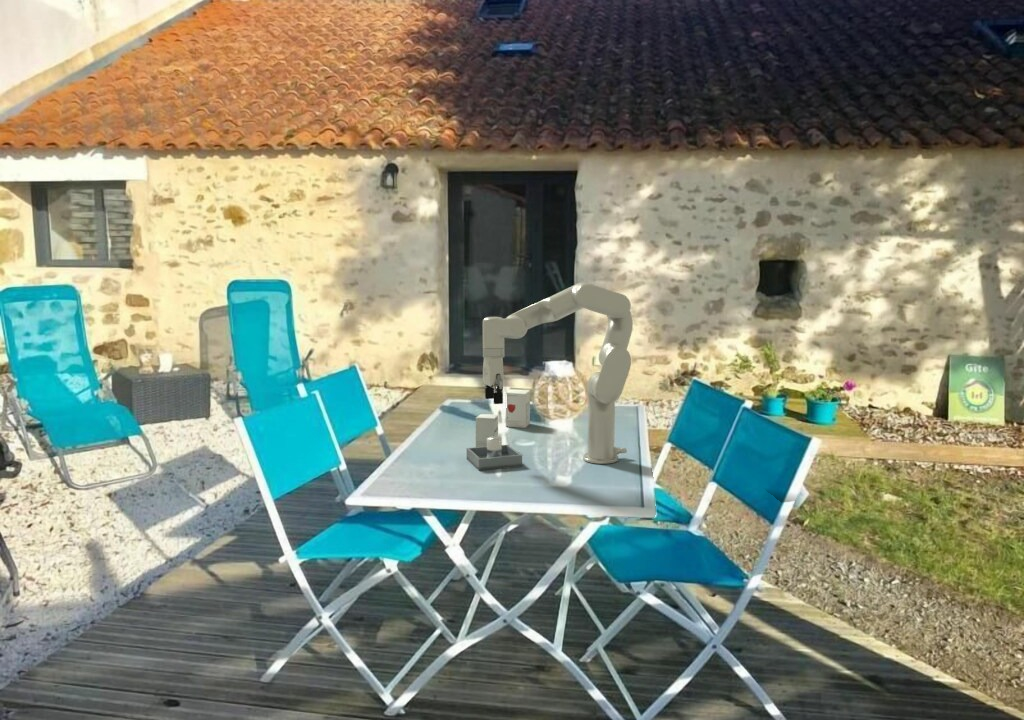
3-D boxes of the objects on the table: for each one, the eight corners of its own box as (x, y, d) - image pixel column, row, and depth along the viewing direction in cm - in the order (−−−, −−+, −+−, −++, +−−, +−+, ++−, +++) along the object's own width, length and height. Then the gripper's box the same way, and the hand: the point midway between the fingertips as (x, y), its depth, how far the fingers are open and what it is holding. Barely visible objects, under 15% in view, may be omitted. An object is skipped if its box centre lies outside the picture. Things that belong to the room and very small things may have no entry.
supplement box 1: (494, 451, 286) (494, 418, 284) (475, 450, 287) (474, 417, 286) (498, 446, 293) (498, 414, 291) (479, 445, 295) (479, 413, 293)
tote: (507, 455, 281) (507, 444, 280) (522, 466, 266) (522, 455, 266) (466, 458, 276) (466, 448, 275) (478, 470, 261) (478, 459, 261)
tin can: (498, 457, 274) (498, 435, 273) (503, 461, 269) (503, 438, 268) (485, 458, 272) (484, 436, 271) (489, 462, 268) (489, 440, 266)
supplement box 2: (505, 427, 326) (505, 392, 324) (510, 422, 334) (510, 388, 332) (525, 428, 324) (526, 393, 321) (530, 423, 332) (530, 389, 330)
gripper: (476, 350, 272) (476, 397, 275) (490, 356, 256) (491, 406, 259) (496, 349, 275) (496, 396, 277) (512, 355, 259) (512, 405, 261)
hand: (493, 401), depth 268 cm, fingers open, 9 cm apart
